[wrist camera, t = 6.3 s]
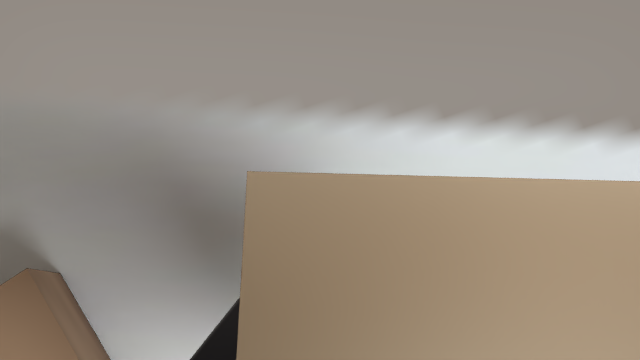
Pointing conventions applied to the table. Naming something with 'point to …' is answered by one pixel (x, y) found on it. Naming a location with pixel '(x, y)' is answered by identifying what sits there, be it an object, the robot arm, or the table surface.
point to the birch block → (439, 268)
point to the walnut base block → (44, 320)
